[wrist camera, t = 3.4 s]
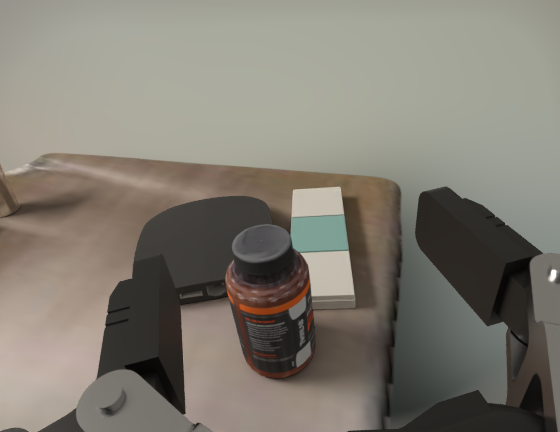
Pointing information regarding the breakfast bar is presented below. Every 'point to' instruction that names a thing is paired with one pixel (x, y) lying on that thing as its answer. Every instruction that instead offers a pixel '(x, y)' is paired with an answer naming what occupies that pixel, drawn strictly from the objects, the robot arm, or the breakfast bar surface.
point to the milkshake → (7, 197)
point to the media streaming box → (200, 242)
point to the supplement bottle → (271, 301)
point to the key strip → (323, 246)
